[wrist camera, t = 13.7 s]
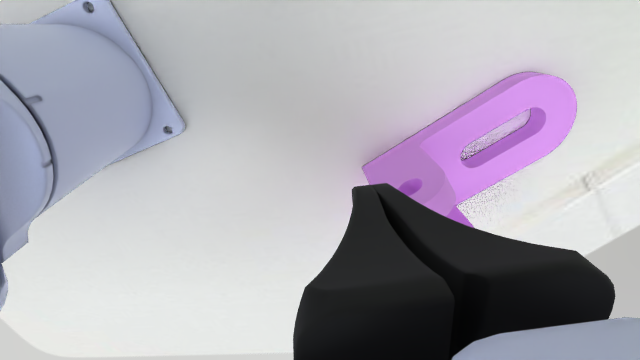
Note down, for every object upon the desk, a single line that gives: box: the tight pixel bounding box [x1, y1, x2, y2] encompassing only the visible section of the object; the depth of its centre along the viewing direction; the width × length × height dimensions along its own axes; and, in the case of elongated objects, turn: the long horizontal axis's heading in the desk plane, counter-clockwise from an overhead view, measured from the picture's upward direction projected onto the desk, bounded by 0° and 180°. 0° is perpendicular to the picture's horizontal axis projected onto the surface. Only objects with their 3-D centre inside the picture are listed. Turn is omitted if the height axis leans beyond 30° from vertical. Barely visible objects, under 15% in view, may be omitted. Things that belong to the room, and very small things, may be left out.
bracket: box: [362, 72, 577, 228], centre depth 18 cm, size 13×6×7 cm, turn 123°
